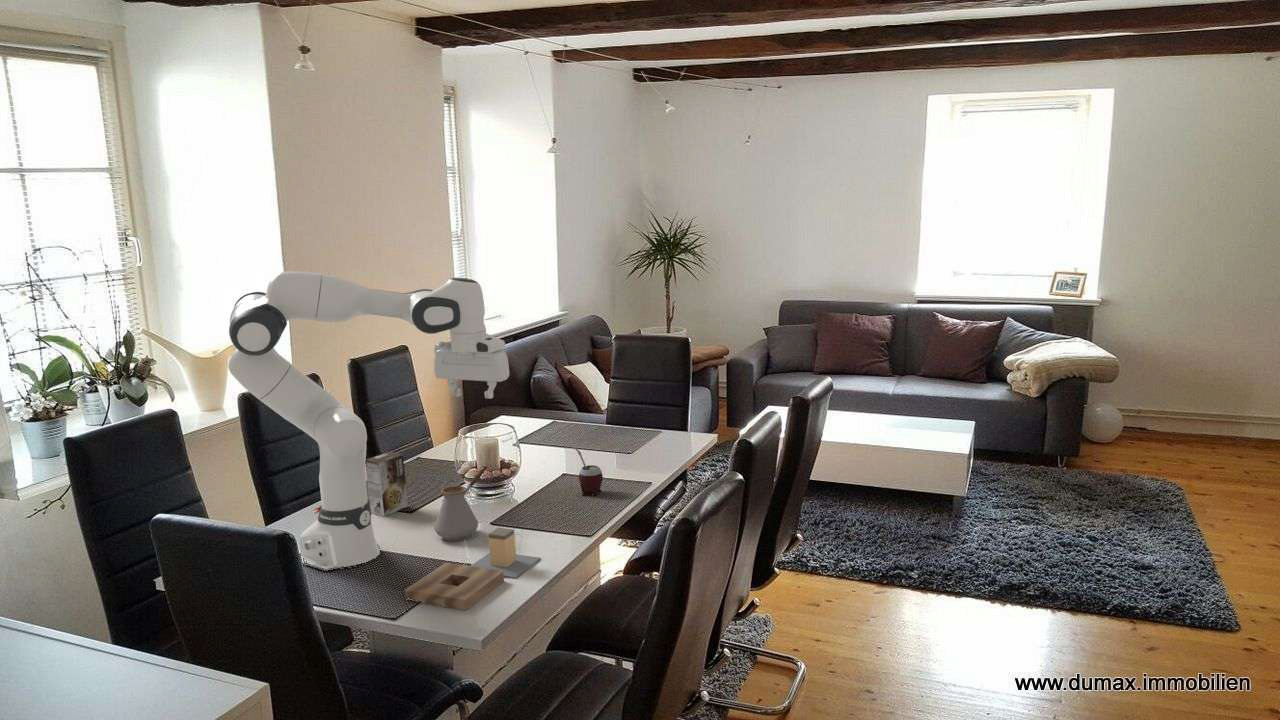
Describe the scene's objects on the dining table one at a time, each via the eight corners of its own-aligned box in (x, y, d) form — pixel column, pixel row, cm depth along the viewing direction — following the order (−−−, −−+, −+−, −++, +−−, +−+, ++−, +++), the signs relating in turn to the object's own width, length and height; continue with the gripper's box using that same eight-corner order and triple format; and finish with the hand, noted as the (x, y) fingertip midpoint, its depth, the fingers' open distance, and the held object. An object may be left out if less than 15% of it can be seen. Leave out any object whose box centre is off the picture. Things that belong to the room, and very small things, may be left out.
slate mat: (465, 571, 223) (465, 569, 223) (492, 552, 234) (492, 550, 234) (515, 578, 217) (515, 577, 217) (540, 559, 228) (540, 557, 228)
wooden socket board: (405, 600, 208) (404, 589, 208) (446, 572, 223) (445, 562, 222) (465, 610, 202) (464, 599, 202) (504, 581, 216) (503, 570, 216)
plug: (490, 565, 225) (488, 534, 223) (500, 558, 229) (498, 527, 227) (506, 567, 223) (504, 536, 222) (516, 560, 227) (514, 529, 226)
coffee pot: (461, 546, 239) (456, 490, 236) (425, 540, 244) (421, 485, 241) (508, 518, 257) (505, 467, 254) (475, 513, 262) (471, 462, 260)
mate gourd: (607, 494, 274) (605, 445, 272) (584, 499, 270) (581, 450, 268) (595, 487, 281) (593, 440, 278) (572, 493, 277) (569, 444, 274)
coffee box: (394, 503, 274) (389, 450, 270) (409, 507, 270) (404, 453, 267) (369, 513, 266) (364, 459, 263) (384, 516, 263) (378, 462, 260)
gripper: (426, 343, 231) (431, 397, 233) (497, 346, 223) (500, 402, 225) (441, 339, 236) (445, 392, 239) (510, 341, 228) (514, 396, 231)
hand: (473, 397), depth 232 cm, fingers open, 8 cm apart
